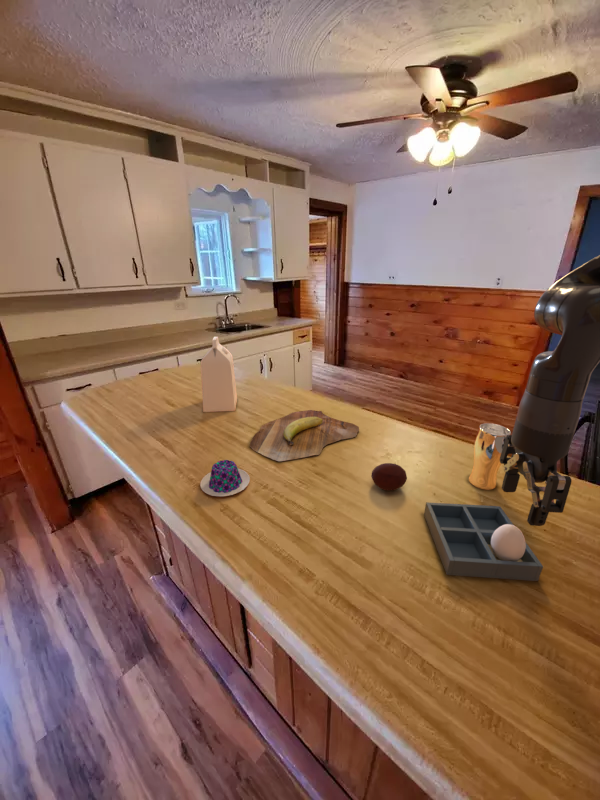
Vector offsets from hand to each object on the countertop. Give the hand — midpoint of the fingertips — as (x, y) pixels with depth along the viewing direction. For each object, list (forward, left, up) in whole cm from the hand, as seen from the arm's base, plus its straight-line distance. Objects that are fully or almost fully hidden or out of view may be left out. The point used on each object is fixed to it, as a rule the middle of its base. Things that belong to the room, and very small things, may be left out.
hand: (520, 506), depth 57 cm
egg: (0, 0, -12) cm, 12 cm away
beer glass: (-6, -25, -13) cm, 28 cm away
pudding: (+58, -19, -13) cm, 62 cm away
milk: (+74, -68, -13) cm, 101 cm away
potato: (+18, -21, -13) cm, 30 cm away
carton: (+4, -4, -12) cm, 13 cm away
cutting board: (+41, -47, -13) cm, 63 cm away
